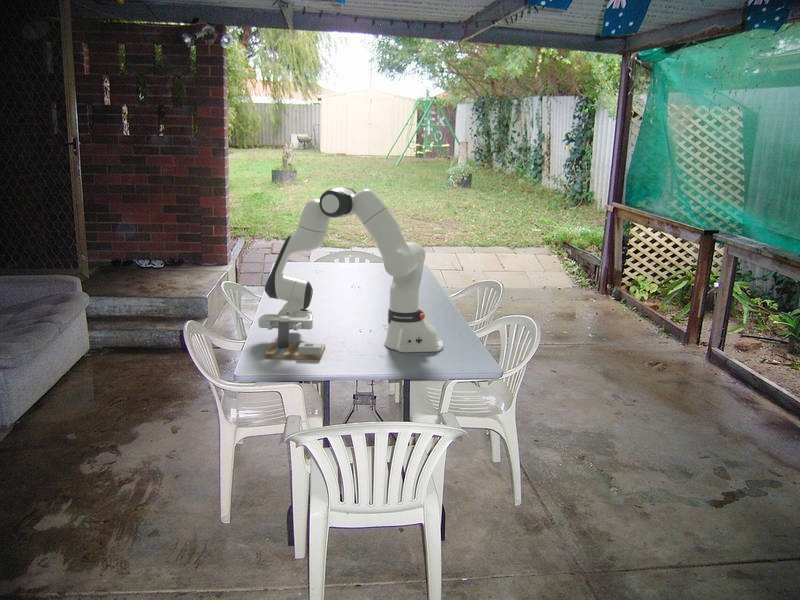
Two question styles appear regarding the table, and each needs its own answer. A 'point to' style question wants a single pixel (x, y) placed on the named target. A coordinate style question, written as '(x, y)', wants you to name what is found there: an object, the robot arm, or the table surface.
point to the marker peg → (283, 331)
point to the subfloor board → (289, 352)
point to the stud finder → (310, 349)
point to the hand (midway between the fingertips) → (282, 328)
